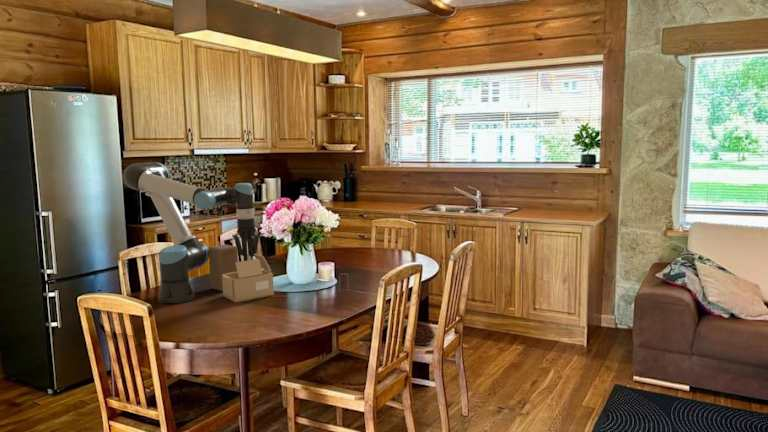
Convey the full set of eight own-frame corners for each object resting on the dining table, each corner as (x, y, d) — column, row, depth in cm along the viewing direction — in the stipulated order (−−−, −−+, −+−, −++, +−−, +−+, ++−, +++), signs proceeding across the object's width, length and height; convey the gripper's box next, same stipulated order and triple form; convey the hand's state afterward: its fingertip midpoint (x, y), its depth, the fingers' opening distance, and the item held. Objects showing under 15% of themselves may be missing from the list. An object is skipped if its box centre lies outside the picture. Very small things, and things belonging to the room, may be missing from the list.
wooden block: (239, 287, 276) (238, 246, 273) (221, 291, 269) (219, 249, 266) (228, 284, 283) (226, 243, 280) (209, 288, 275) (207, 246, 273)
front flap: (238, 278, 251) (239, 277, 250) (235, 262, 252) (235, 262, 252) (262, 274, 257) (262, 273, 257) (258, 259, 259) (259, 258, 258)
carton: (234, 303, 250) (233, 280, 249) (220, 296, 262) (219, 274, 261) (274, 295, 261) (273, 273, 260) (259, 288, 273) (258, 267, 272)
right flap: (262, 256, 259) (263, 256, 259) (253, 253, 267) (254, 253, 267) (270, 271, 262) (271, 271, 262) (260, 267, 270) (261, 267, 270)
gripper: (235, 220, 251) (238, 273, 255) (262, 217, 259) (265, 269, 262) (228, 218, 257) (231, 270, 261) (255, 215, 265) (258, 266, 268)
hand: (248, 269), depth 261 cm, fingers closed
